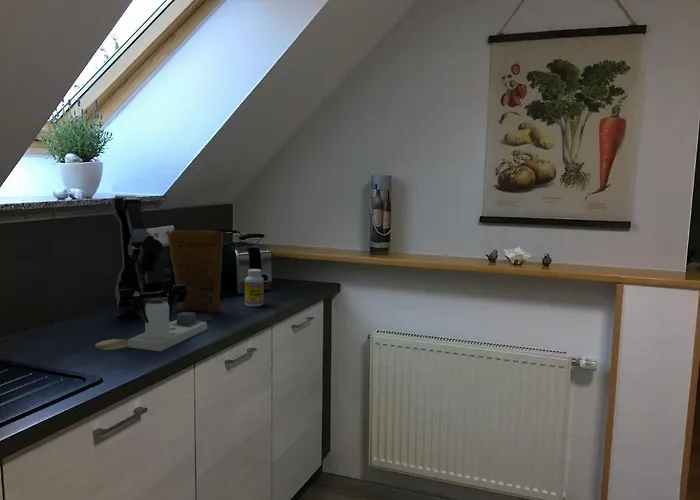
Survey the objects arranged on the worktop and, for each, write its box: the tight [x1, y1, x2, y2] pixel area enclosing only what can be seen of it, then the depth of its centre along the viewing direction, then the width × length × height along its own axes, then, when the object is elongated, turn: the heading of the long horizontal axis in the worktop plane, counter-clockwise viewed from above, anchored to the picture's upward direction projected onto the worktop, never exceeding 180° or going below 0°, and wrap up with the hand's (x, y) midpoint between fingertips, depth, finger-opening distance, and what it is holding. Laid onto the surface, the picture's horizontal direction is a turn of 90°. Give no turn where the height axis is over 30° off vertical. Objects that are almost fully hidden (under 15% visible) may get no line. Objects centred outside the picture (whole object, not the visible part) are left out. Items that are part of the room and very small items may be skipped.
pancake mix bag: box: [167, 229, 224, 313], centre depth 205 cm, size 7×19×28 cm, turn 77°
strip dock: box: [127, 319, 208, 352], centre depth 173 cm, size 10×24×2 cm, turn 163°
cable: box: [202, 316, 213, 323], centre depth 191 cm, size 10×1×1 cm, turn 168°
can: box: [144, 298, 171, 341], centre depth 167 cm, size 6×6×12 cm
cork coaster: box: [94, 338, 129, 351], centre depth 165 cm, size 9×9×1 cm
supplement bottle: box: [244, 268, 265, 308], centre depth 217 cm, size 7×7×13 cm
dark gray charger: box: [176, 311, 197, 325], centre depth 181 cm, size 4×4×3 cm
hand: (158, 321), depth 166 cm, fingers closed on can, 6 cm apart
